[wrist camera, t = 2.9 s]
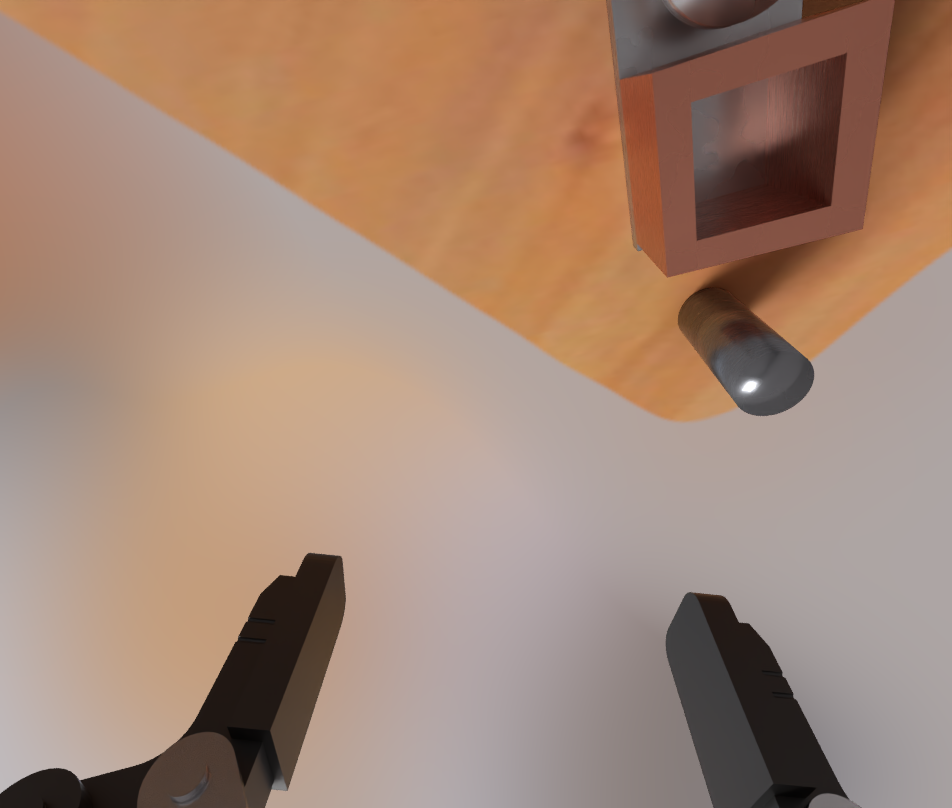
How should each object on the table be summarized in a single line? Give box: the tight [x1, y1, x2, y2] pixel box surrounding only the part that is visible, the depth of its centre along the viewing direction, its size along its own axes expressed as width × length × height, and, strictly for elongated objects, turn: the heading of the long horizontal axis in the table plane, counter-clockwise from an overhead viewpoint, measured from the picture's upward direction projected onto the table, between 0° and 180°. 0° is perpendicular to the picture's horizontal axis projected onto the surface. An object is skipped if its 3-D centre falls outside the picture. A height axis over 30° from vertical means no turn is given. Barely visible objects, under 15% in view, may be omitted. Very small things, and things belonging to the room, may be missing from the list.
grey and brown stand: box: [606, 0, 895, 277], centre depth 14 cm, size 7×13×17 cm, turn 16°
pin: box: [678, 288, 814, 416], centre depth 23 cm, size 3×3×8 cm
